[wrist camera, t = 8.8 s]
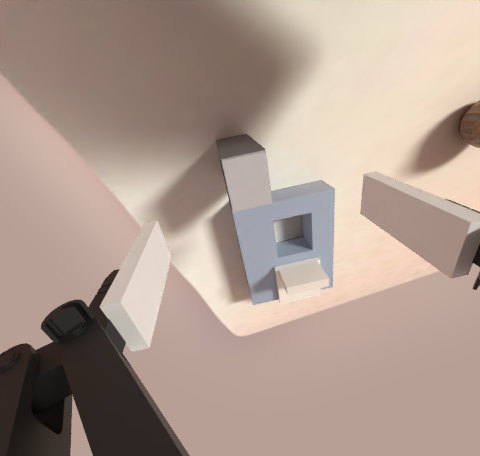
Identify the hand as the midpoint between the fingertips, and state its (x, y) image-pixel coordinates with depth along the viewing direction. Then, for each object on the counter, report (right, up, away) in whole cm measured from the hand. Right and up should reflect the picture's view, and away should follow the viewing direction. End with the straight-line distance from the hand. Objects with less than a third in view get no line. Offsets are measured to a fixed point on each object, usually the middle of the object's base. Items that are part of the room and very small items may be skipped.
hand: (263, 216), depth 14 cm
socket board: (+5, -3, +24) cm, 24 cm away
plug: (-2, +9, +16) cm, 19 cm away
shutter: (+8, -9, +23) cm, 26 cm away
